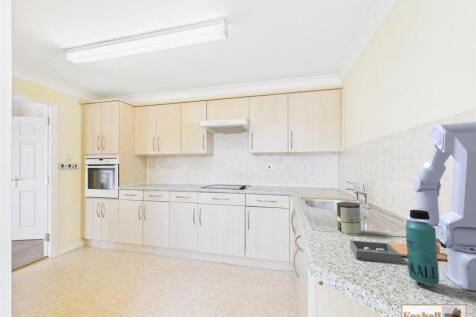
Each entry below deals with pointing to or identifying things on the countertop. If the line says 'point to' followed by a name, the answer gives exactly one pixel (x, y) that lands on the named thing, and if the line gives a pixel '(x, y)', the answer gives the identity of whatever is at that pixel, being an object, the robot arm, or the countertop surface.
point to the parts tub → (375, 251)
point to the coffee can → (348, 218)
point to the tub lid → (403, 250)
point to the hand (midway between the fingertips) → (430, 246)
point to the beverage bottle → (422, 249)
